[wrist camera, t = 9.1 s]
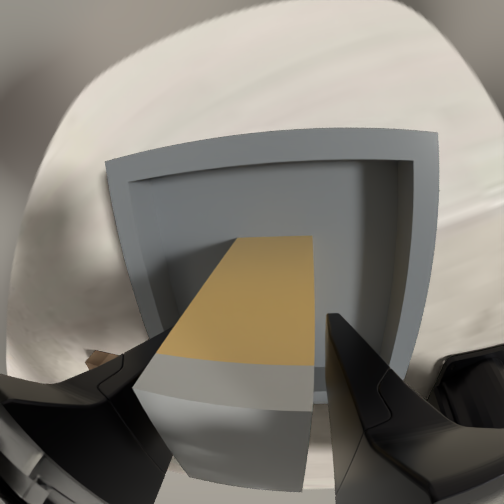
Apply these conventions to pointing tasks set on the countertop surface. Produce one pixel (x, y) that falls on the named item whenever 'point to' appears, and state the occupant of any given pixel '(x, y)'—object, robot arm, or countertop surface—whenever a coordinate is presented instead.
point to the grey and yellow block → (241, 369)
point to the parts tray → (289, 223)
